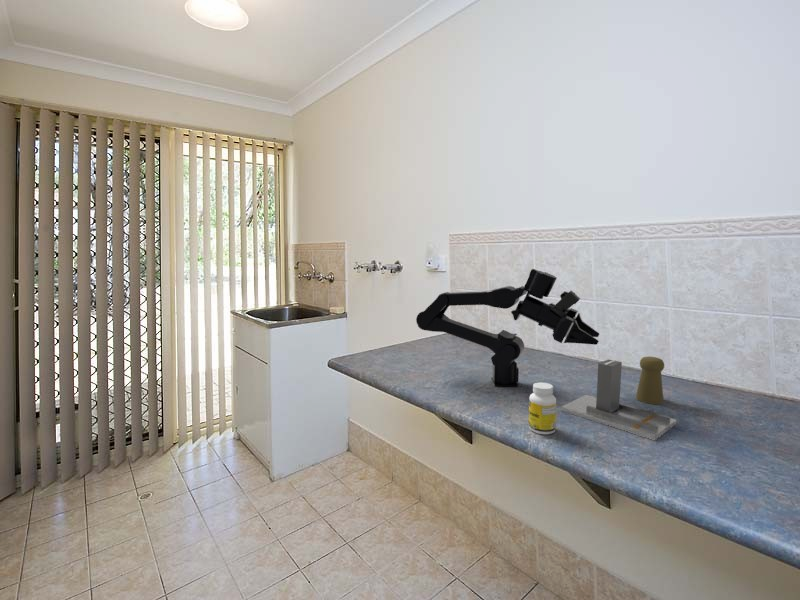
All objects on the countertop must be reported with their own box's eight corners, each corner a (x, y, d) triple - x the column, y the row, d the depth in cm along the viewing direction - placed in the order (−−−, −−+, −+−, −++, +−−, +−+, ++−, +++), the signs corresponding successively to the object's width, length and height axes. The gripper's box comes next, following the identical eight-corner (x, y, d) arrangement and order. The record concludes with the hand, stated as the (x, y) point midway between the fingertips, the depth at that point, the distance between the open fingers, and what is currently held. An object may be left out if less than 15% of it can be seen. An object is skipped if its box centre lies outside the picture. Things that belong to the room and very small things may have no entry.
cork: (636, 393, 106) (639, 353, 105) (663, 398, 103) (667, 356, 101) (634, 401, 101) (637, 358, 100) (663, 406, 98) (666, 362, 97)
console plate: (561, 410, 96) (561, 402, 96) (585, 398, 103) (586, 390, 103) (654, 440, 80) (655, 431, 80) (676, 424, 88) (676, 415, 88)
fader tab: (595, 409, 93) (598, 362, 92) (605, 404, 96) (608, 358, 95) (609, 413, 91) (612, 365, 89) (619, 408, 94) (621, 361, 92)
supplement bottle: (524, 424, 89) (525, 381, 87) (548, 423, 89) (549, 380, 88) (534, 435, 83) (536, 390, 82) (559, 434, 84) (561, 389, 82)
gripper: (548, 288, 98) (614, 316, 93) (557, 282, 115) (613, 306, 109) (529, 328, 102) (591, 358, 96) (540, 317, 118) (593, 341, 112)
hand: (598, 339), depth 103 cm, fingers open, 9 cm apart
